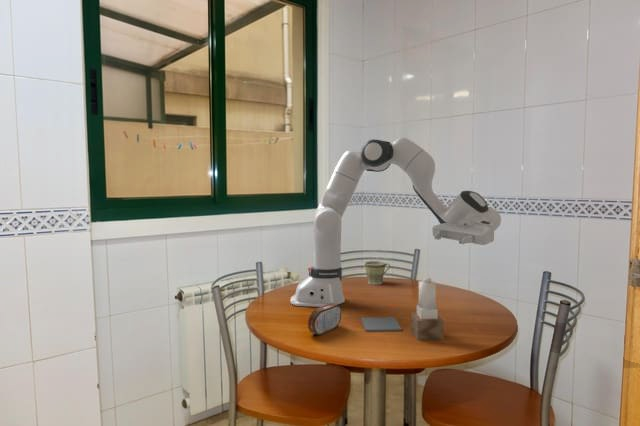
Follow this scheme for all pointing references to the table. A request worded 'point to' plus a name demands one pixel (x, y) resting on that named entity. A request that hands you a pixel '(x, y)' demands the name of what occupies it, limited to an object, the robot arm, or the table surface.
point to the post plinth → (426, 328)
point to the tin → (324, 319)
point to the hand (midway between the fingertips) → (448, 239)
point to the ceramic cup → (375, 271)
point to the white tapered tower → (427, 300)
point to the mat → (381, 324)
